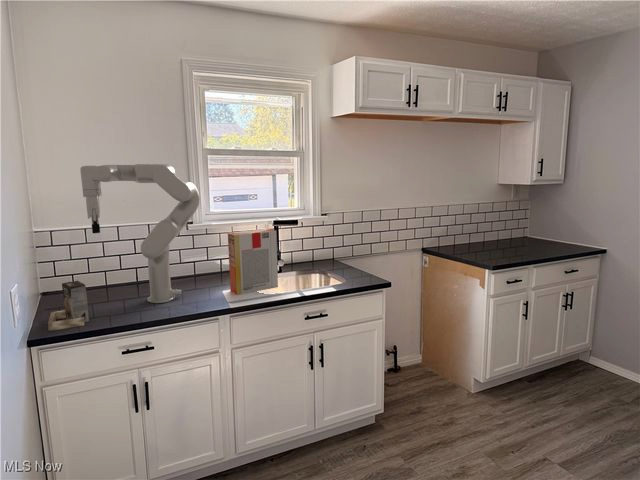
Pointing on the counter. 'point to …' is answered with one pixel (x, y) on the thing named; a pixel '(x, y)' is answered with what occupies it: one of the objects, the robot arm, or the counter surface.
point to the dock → (63, 321)
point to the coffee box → (75, 300)
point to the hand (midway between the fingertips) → (96, 232)
